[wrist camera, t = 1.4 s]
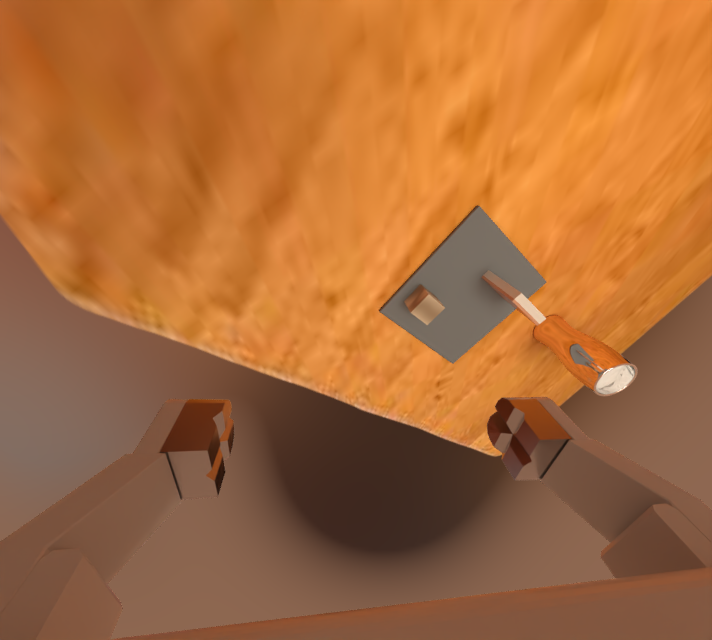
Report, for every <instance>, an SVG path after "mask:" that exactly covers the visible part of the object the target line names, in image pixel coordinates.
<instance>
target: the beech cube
mask: <svg viewBox="0 0 712 640" xmlns="http://www.w3.org/2000/svg"><path fill="white" fill-rule="evenodd" d="M404 302H405V304H406V306H407V307H408V309H409V311H410V313H412V314H413V315H414V316H416V317H417V318H418V319H420V320H421V321H422V322H424V323H425V324H426V325H428V324H429V323H430V322H431V321H432V320H433V319H434V318H435V317H436V316H437V315H438V314H440V313H441V312H442V311H443V310H444V309H445V307H444V306H443V304H442V303H441V302H440V301H439V300H438V298H437V297H436V296H435V295H433V294H432V293H431V292H430V291H429V290H427V289H426V288H425V287H424V286H423V285H421V284H420V285H419V286H418V287H417V288H416V289H415V290H414V291H413V293H412V294H411V295H410V296H409V297H408V298H407V299H406V300H405V301H404Z"/></svg>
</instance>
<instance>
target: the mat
mask: <svg viewBox="0 0 712 640" xmlns="http://www.w3.org/2000/svg"><path fill="white" fill-rule="evenodd" d="M488 270H489V271H491V272H492V273H494V274H495V275H497V276H498V277H499V278H501V279H502V280H504V281H505V282H507V283H508V284H509V285H511V286H512V287H514V288H515V289H517V290H518V291H519V292H521V293H522V294H523V295H524V296H525V297H526V298H527V299H528V298H529V297H530V296H531V295H532V294H534V293H535V292H536V291H537V290H538V289H539V288H541V287H542V286H543V285H544V284H545V283H546V281H545V280H544V279H543V277H542V276H541V275H540V274H539V273H538V272H537V271H536V269H535V268H534V267H533V266H532V265H531V264H530V263H529V262H528V260H527V259H526V258H525V257H524V256H523V255H522V254H521V253H520V251H519V250H518V249H517V248H516V247H515V246H514V245H513V244H512V242H511V241H510V240H509V239H508V238H507V237H506V236H505V235H504V233H503V232H502V231H501V230H500V229H499V228H498V227H497V225H496V224H495V223H494V222H493V221H492V220H491V219H490V218H489V216H488V215H487V214H486V213H485V212H484V211H483V210H482V209H481V207H480V206H478V205H477V206H476V207H475V208H474V209H473V210H472V212H471V213H470V214H469V215H468V216H467V217H466V218H465V219H464V220H463V221H462V222H461V223H460V224H459V225H458V226H457V228H456V229H455V230H454V231H453V232H452V233H451V234H450V235H449V236H448V237H447V238H446V239H445V240H444V241H443V243H442V244H441V245H440V246H439V247H438V248H437V249H436V250H435V251H434V252H433V253H432V254H431V255H430V256H429V258H428V259H427V260H426V261H425V262H424V263H423V264H422V265H421V266H420V267H419V268H418V269H417V270H416V271H415V272H414V274H413V275H412V276H411V277H410V278H409V279H408V280H407V281H406V282H405V283H404V284H403V285H402V286H401V287H400V289H399V290H398V291H397V292H396V293H395V294H394V295H393V296H392V297H391V298H390V299H389V300H388V301H387V302H386V304H385V305H384V306H383V307H382V308H381V309H380V310H379V311H380V312H381V313H382V314H384V315H385V316H386V317H388V318H389V319H391V320H392V321H394V322H395V323H396V324H398V325H399V326H401V327H402V328H403V329H405V330H406V331H408V332H409V333H410V334H412V335H413V336H415V337H416V338H417V339H419V340H420V341H422V342H423V343H424V344H426V345H427V346H429V347H430V348H431V349H433V350H434V351H436V352H437V353H439V354H440V355H441V356H443V357H444V358H446V359H447V360H448V361H450V362H451V363H454V362H455V361H456V360H458V359H459V358H460V357H461V356H462V355H463V354H465V353H466V352H467V351H468V350H469V349H470V348H471V347H473V346H474V345H475V344H476V343H477V342H478V341H480V340H481V339H482V338H483V337H484V336H485V335H486V334H488V333H489V332H490V331H491V330H492V329H493V328H494V327H496V326H497V325H498V324H499V323H500V322H501V321H503V320H504V319H505V318H506V317H507V316H508V315H509V314H511V313H512V312H513V311H514V310H515V309H516V308H514V307H513V306H512V305H511V304H509V303H508V302H507V301H506V300H504V299H503V298H502V297H501V296H500V295H499V294H498V293H497V292H496V291H495V290H494V289H493V288H492V287H491V286H490V285H489V284H488V283H487V282H486V281H485V280H484V279H483V278H482V276H483V275H484V274H485V273H486V272H487V271H488ZM420 284H421V285H423V286H424V287H425V288H426V289H427V290H429V291H430V292H431V293H432V294H433V295H435V296H436V297H437V298H438V300H439V301H440V302H441V303H442V304H443V306H444V307H445V309H444V310H443V311H442V312H441V313H440V314H438V315H437V316H436V317H435V318H434V319H433V320H432V321H431V322H430V323H429V324H428V325H426V324H425V323H424V322H422V321H421V320H420V319H418V318H417V317H416V316H414V315H413V314H412V313H410V311H409V309H408V307H407V306H406V304H405V302H404V301H405V300H406V299H407V298H408V297H409V296H410V295H411V294H412V293H413V291H414V290H415V289H416V288H417V287H418V286H419V285H420Z"/></svg>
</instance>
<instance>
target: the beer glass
mask: <svg viewBox="0 0 712 640" xmlns="http://www.w3.org/2000/svg"><path fill="white" fill-rule="evenodd" d="M533 335H534V338H535V339H536V340H537V341H539V342H541V343H542V344H544V345H546V346H547V347H548V348H550V349H551V350H552V351H553V352H554V354H555V355H556V356H557V357H558V359H559V360H560V361H561V363H562V364H563V365H564V366H565V367H566V369H567V370H568V371H569V372H570V373H571V374H572V375H573V376H574V377H576V378H577V379H578V380H579V381H580V382H582V383H583V384H584V385H586V386H587V387H588V388H590V389H591V390H592V391H594V392H595V393H596V394H597V395H600V396H609V395H613V394H616V393H618V392H620V391H622V390H624V389H625V388H626V387H628V386H629V385H630V384H631V383H632V382H633V381H634V379H635V378H636V376H637V367H636V366H635V365H633V364H632V363H631V362H629V361H628V360H627V359H626V358H624V357H623V356H622V355H621V354H619V353H618V352H617V351H615V350H614V349H612V348H611V347H609V346H608V345H606V344H605V343H603V342H601V341H599V340H597V339H595V338H593V337H591V336H588V335H586V334H584V333H582V332H579V331H577V330H575V329H574V328H572V327H571V326H570V325H569V324H568V323H567V322H566V321H565V320H564V319H563V318H562V317H560V316H558V315H551V316H548V317H546V319H545V320H544V321H543V322H542V323H540V324H539V325H538V326H537V325H536V327H535V328H534V332H533Z"/></svg>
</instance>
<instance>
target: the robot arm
mask: <svg viewBox="0 0 712 640" xmlns="http://www.w3.org/2000/svg"><path fill="white" fill-rule="evenodd" d="M495 408H496V410H497V412H496V413H494V414H493V415H492V416H490V419H489V421H488V423H487V431H488V435H489V438H490V441H491V442H492V444H493V446H494V447H495V448H496V449H498V450H499V451H500V452H502V461H503V462H504V464H505V466H506V467H507V469H508V471H509V472H510V474H511V476H512V477H513V479H514V480H541V481H540V482H542V483H543V484H544V485H545V486H546V487H548V488H549V489H550V490H551V491H552V492H553V493H554V494H555V495H557V496H558V497H559V498H560V499H561V500H562V501H564V502H565V503H566V504H567V505H568V506H569V507H570V508H571V509H573V510H574V511H575V512H576V513H577V514H578V515H579V516H581V517H582V518H583V519H584V520H585V521H586V522H587V523H589V524H590V525H591V526H592V527H593V528H594V529H595V530H597V531H598V532H599V533H600V534H601V535H602V536H604V537H605V538H606V539H607V540H608V541H609V542H610V544H609V545H608V546H607V547H606V548H605V549H603V550H602V551H601V558H602V560H603V561H604V563H605V564H606V565H607V567H608V568H609V570H610V571H611V573H612V574H613V576H614V577H615V579H607V580H597V581H589V582H581V583H573V584H564V585H556V586H548V587H539V588H531V589H524V590H515V591H506V592H498V593H490V594H481V595H473V596H465V597H457V598H448V599H440V600H431V601H423V602H415V603H407V604H398V605H391V606H382V607H373V608H366V609H357V610H349V611H340V612H332V613H324V614H316V615H307V616H299V617H290V618H282V619H274V620H266V621H257V622H249V623H241V624H232V625H225V626H216V627H207V628H199V629H191V630H183V631H175V632H167V633H158V634H149V635H141V636H134V637H124V638H117V639H110V638H111V636H112V633H113V631H114V628H115V626H116V624H117V621H118V619H119V616H120V614H121V611H122V609H123V608H122V605H121V602H120V600H119V599H118V598H117V596H116V595H115V594H114V593H113V592H112V590H111V589H110V587H109V586H108V585H107V584H108V583H109V582H110V581H111V580H112V578H113V577H114V576H115V575H116V574H117V573H118V572H119V571H120V570H121V569H122V567H123V566H124V565H125V564H126V563H127V562H128V561H129V560H130V559H131V558H132V556H133V555H134V554H135V553H136V552H137V551H138V550H139V549H140V548H141V547H142V545H143V544H144V543H145V542H146V541H147V540H148V539H149V538H150V537H151V535H152V534H153V533H154V532H155V531H156V530H157V529H158V528H159V527H160V525H161V524H162V523H163V522H164V521H165V520H166V519H167V518H168V516H170V514H171V513H172V512H173V511H174V510H175V509H176V508H177V507H178V505H179V504H180V503H181V502H182V501H181V500H186V499H198V498H209V497H218V495H219V492H220V488H221V485H222V481H223V478H224V475H225V466H224V461H225V460H226V459H227V458H228V457H229V456H230V454H231V450H232V446H233V439H234V422H233V420H232V419H231V418H229V416H230V413H231V410H232V408H231V403H230V401H229V400H210V399H209V400H208V399H207V400H206V399H189V400H185V399H169V400H168V401H166V402H165V403H164V404H163V405H162V407H161V409H160V411H159V412H158V414H157V415H156V417H155V418H154V420H153V422H152V423H151V425H150V426H149V428H148V430H147V431H146V433H145V435H144V436H143V438H142V439H141V441H140V443H139V445H138V446H137V448H136V449H135V451H134V452H133V454H126V455H124V456H122V457H121V458H120V459H118V460H117V461H115V462H114V463H112V464H111V465H110V466H108V467H107V468H105V469H104V470H102V471H101V472H100V473H98V474H97V475H95V476H94V477H92V478H91V479H90V480H88V481H87V482H85V483H84V484H83V485H81V486H79V487H78V488H77V489H75V490H74V491H72V492H71V493H70V494H68V495H67V496H65V497H64V498H62V499H61V500H59V501H58V502H56V503H55V504H54V505H52V506H51V507H49V508H48V509H46V510H45V511H44V512H42V513H41V514H39V515H38V516H36V517H35V518H34V519H32V520H31V521H29V522H28V523H26V524H25V525H23V526H22V527H21V528H19V529H18V530H17V531H15V532H13V533H12V534H11V535H9V536H8V537H6V538H5V539H3V540H2V541H0V640H712V510H711V509H710V508H709V507H708V506H707V505H705V504H704V503H703V502H702V501H701V500H700V499H698V498H696V497H694V496H693V495H691V494H689V493H688V492H685V491H684V490H682V489H681V488H679V487H677V486H675V485H674V484H671V483H670V482H668V481H666V480H665V479H663V478H661V477H659V476H658V475H656V474H654V473H652V472H651V471H649V470H647V469H645V468H644V467H642V466H640V465H638V464H637V463H635V462H633V461H631V460H630V459H628V458H626V457H624V456H623V455H621V454H619V453H617V452H616V451H614V450H612V449H610V448H609V447H607V446H605V445H603V444H602V443H600V442H598V441H596V440H595V439H589V438H588V437H587V436H586V435H585V434H584V433H583V432H582V431H581V430H580V429H579V428H578V427H577V426H576V424H574V422H573V421H572V420H571V419H570V418H569V417H568V416H567V415H566V414H565V413H564V412H563V411H562V410H561V409H560V408H559V407H558V406H557V405H556V404H555V403H554V402H553V401H552V400H551V399H549V398H547V397H531V398H530V397H514V398H501V399H500V400H498V402H497V404H496V406H495Z"/></svg>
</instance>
